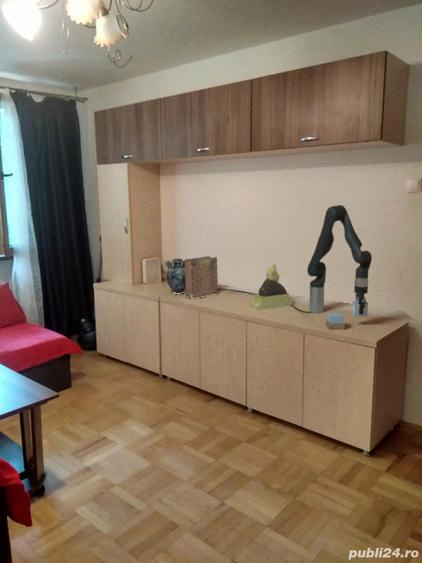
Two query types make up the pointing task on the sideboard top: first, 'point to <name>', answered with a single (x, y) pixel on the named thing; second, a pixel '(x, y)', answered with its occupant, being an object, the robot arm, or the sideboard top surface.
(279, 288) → the rock garden ornament
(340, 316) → the slate-blue block
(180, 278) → the decorative vase
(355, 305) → the medicine box
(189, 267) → the book
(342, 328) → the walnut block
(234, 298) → the sideboard top surface
